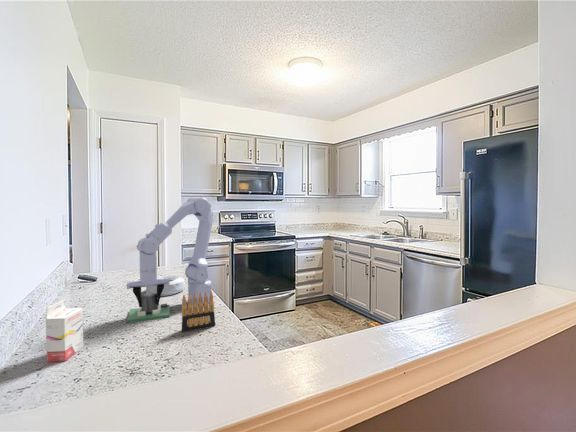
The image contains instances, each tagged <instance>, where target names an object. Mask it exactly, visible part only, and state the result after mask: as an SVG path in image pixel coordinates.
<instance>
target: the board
mask: <svg viewBox="0 0 576 432" xmlns="http://www.w3.org/2000/svg"><path fill="white" fill-rule="evenodd" d="M170 317H171V316H170V304H168V303H162V304H161V303H159V305H157V309H156V310H153V312H148V313H146V312H145V311H141V307H139V306H138V307H137V308H131V309H129V313H128V315H127V319H126V324H131V323H137V322H139V323H140V322H144V321H145V322H146V321H151V320H158V319H159V320H160V319H166V318H170Z"/></svg>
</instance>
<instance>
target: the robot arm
mask: <svg viewBox="0 0 576 432" xmlns="http://www.w3.org/2000/svg"><path fill="white" fill-rule="evenodd" d="M211 207H212V204H211V202H210V201H209V200H208V199H207V198H206V197H203V196H201V197H191V198H188V199H187V200H186V201H184V202H183V203H182V205H181V206H180V207H179V208H178V209H177V210H176V211H175V212H174V213H173V214H172V215H171V216H170V217H169V218H168V219H167V220H166V222H160V223H156V224H155V225H154V228H153V229H152V230H151V231H150V232H149V233H146V234H145V235H144V236H145V237H142V238H140V240H138V241H137V242H138V243H137V245H136V249H137V250H138V251H139V280H136V281H131V282H127V283H126V289H127V290H130V289H132V292H133V294H134V296H135V297H136V300H137V303H138V308H139V307H141V296H142V288H146V287H149V286H157V305H159V304H160V300H161V297H162V296H161V293H162V291H163V289H164V285H170V284H169V279H157V277H158V273H157V267H158V266H157V251H158V250H159V247H160V246H159V245H161V244H162V243H163V242H164V241H165V240H166V239H167V238H168V237H169V236H170V235H172V232H173V228H174V227H175V226H176V225H177V224H179V223H180V222H181V221H182V220H183V219H185V218H186V217H187V216H190V215H193V216H195V217H196V219H197V220H198V221H199V223H198V228H197V232H196V236H195V237H196V239H195V243H194V249H193V255H192V258H191V259H189V262H188V264H187V266H186V269H184V270H185V271H184V272H185V273H184V274H185V277H186V278H187V291H188V292H187V295H188V296H189V294H190V295H191V299H192V307H193V298H194V294H195V293H196V296H197V304H199V294H200V292H201V294H202V301H203V305H204V295H205V292H207V296H208V304H209V299H210V292H211V291H213V290H212V281H211V280H208V278H209V275H210V273H209V269H208V268H209V263H208V261H207V255H208V250H209V243H210V239H211V234H212V233H211V232H212V226H213V222H214V217H213V212H212V208H211ZM186 304H188V299H186Z"/></svg>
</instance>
